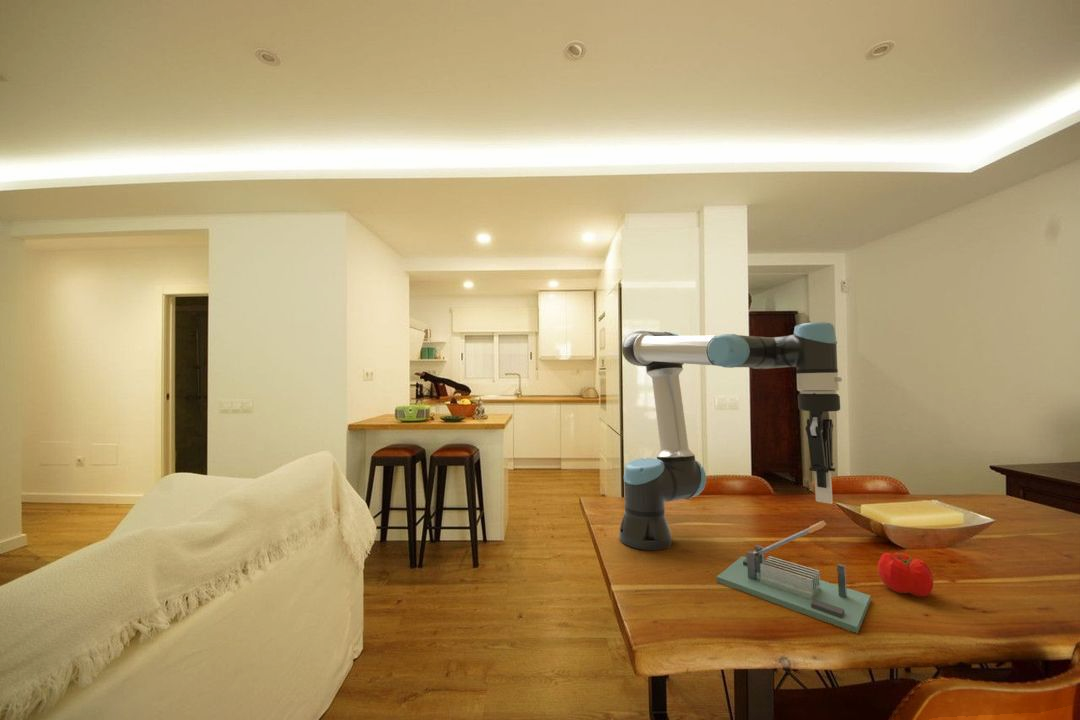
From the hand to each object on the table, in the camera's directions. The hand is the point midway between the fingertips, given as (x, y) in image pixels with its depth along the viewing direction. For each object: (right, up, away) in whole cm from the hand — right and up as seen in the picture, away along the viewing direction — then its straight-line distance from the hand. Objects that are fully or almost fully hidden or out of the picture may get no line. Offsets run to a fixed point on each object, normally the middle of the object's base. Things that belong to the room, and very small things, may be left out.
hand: (824, 501), depth 84 cm
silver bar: (-4, -20, +3) cm, 21 cm away
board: (-5, -22, +4) cm, 22 cm away
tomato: (+21, -22, +3) cm, 30 cm away
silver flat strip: (-5, -11, +4) cm, 13 cm away
